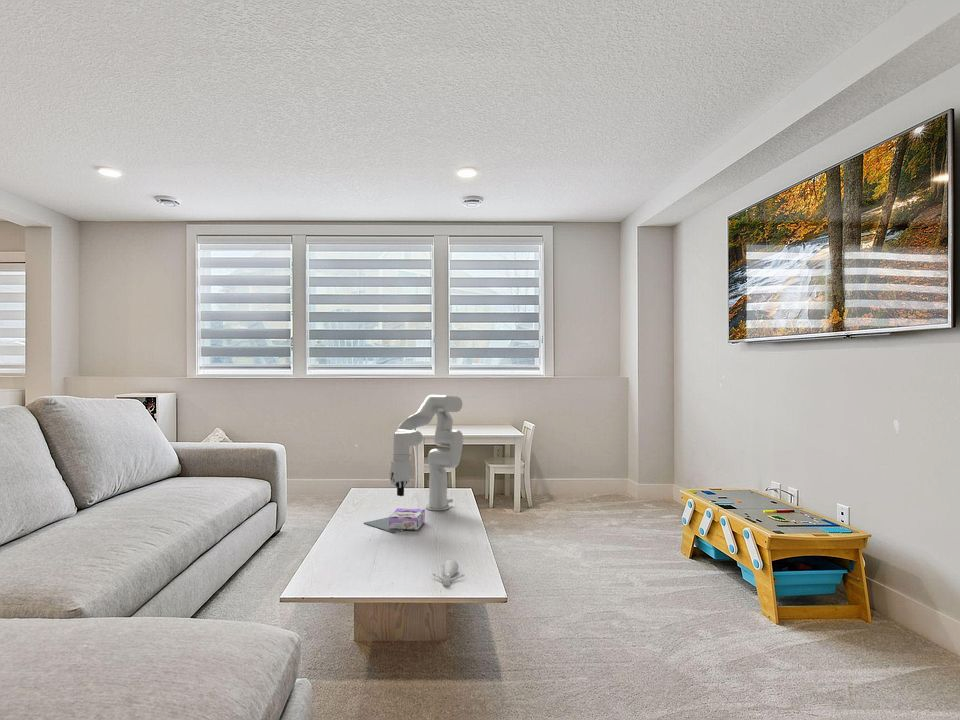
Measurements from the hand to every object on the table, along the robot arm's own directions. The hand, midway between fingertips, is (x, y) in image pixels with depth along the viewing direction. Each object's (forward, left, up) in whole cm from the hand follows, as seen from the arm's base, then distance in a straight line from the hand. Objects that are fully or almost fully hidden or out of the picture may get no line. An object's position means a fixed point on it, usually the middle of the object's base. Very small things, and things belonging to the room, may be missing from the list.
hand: (400, 495), depth 283 cm
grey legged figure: (+34, +69, -14) cm, 79 cm away
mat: (+5, 0, -13) cm, 14 cm away
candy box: (-6, +1, -10) cm, 11 cm away
